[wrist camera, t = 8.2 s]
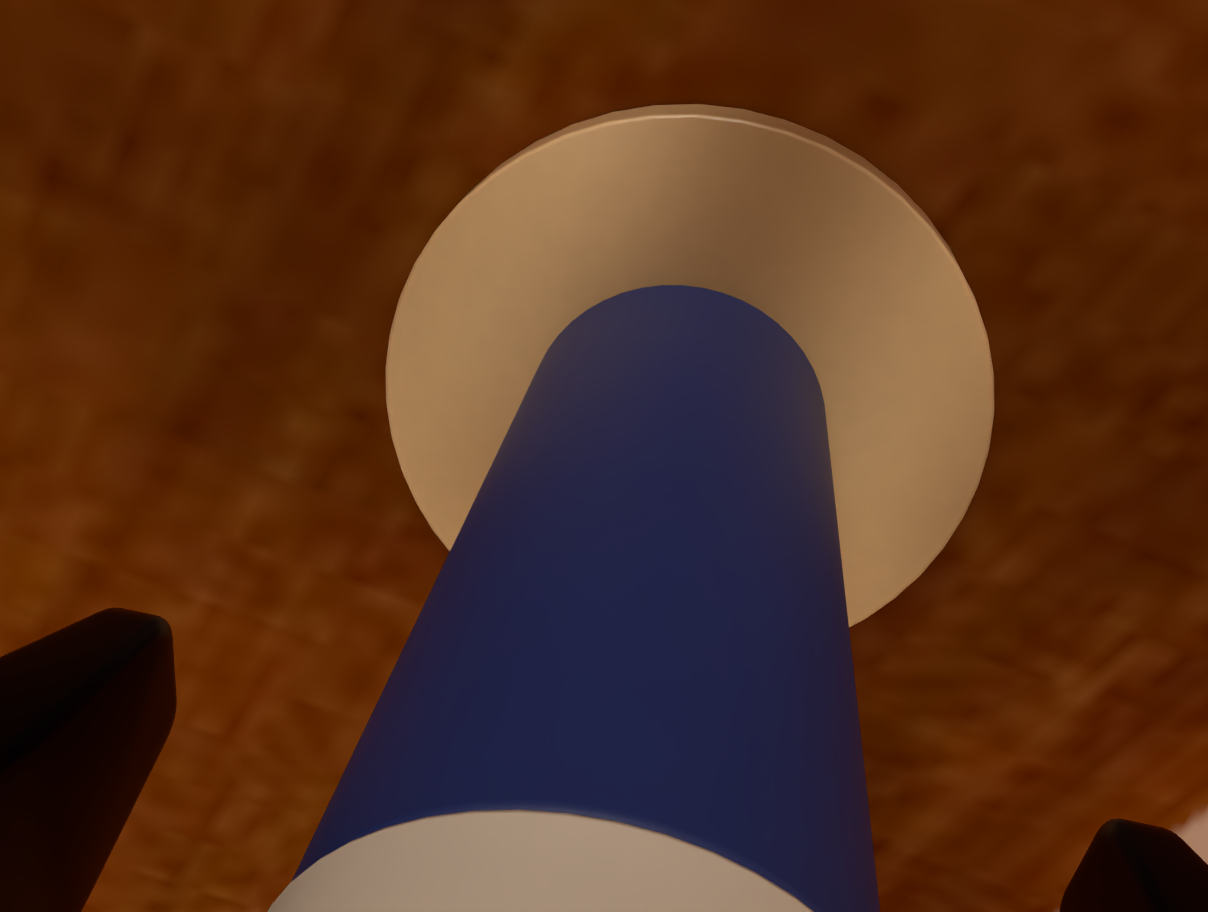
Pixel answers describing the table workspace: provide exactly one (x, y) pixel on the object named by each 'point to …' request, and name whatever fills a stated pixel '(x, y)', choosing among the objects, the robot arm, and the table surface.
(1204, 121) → the table surface
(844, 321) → the coaster
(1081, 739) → the table surface
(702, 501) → the glue stick
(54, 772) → the robot arm
